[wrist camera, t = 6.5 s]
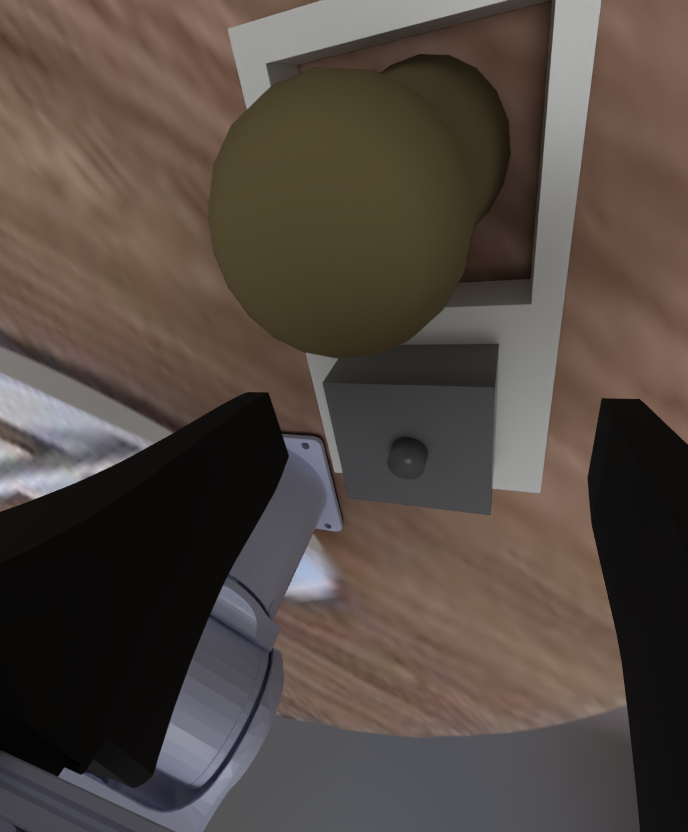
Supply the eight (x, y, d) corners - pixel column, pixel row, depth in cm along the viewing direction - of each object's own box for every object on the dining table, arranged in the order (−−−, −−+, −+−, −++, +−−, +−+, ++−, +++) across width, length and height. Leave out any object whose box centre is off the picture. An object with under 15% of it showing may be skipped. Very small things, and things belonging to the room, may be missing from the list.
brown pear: (315, 110, 16) (88, 150, 8) (484, 8, 13) (415, -108, 5) (376, 268, 19) (259, 424, 10) (528, 214, 16) (532, 369, 7)
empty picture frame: (348, 442, 25) (307, 527, 20) (264, 34, 15) (145, 16, 10) (538, 457, 22) (542, 563, 17) (597, -62, 11) (649, -158, 7)
